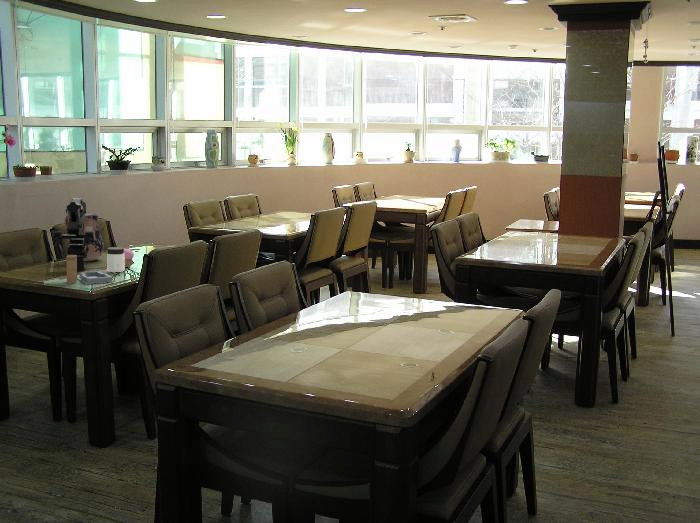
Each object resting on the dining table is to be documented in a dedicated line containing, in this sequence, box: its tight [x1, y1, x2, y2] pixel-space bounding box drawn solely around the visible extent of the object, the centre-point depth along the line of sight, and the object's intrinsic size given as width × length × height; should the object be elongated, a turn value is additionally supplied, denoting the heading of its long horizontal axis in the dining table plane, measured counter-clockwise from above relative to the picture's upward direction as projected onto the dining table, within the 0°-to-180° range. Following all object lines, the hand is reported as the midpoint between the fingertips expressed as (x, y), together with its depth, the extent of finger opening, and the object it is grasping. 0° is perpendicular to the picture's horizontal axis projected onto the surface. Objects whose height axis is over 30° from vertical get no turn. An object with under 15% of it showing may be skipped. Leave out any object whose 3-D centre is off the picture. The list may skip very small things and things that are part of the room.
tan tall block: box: [65, 254, 78, 284], centre depth 367 cm, size 6×4×12 cm, turn 15°
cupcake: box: [124, 248, 135, 268], centre depth 410 cm, size 9×9×10 cm
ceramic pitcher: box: [64, 213, 105, 262], centre depth 428 cm, size 18×21×25 cm
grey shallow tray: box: [77, 270, 115, 285], centre depth 375 cm, size 18×13×2 cm
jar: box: [106, 246, 126, 274], centre depth 398 cm, size 9×8×12 cm
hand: (73, 251), depth 373 cm, fingers open, 9 cm apart
